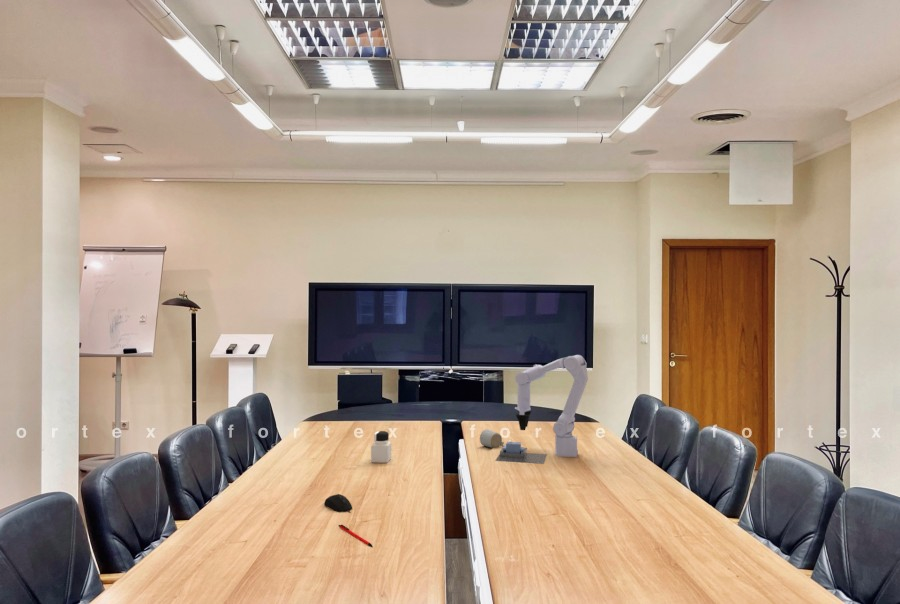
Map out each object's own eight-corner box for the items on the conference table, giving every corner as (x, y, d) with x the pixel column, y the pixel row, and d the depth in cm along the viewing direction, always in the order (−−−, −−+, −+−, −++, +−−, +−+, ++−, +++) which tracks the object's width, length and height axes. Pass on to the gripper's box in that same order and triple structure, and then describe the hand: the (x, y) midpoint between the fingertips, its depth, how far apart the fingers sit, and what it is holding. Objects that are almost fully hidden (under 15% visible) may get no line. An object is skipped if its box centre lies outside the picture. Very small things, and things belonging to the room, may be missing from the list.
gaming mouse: (343, 517, 174) (343, 504, 174) (320, 505, 185) (320, 492, 185) (361, 513, 178) (361, 500, 178) (337, 500, 189) (337, 488, 189)
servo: (524, 454, 245) (524, 440, 245) (523, 456, 241) (523, 442, 241) (503, 452, 247) (503, 439, 247) (502, 455, 243) (502, 441, 243)
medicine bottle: (391, 458, 241) (391, 430, 241) (387, 462, 234) (387, 433, 234) (374, 458, 242) (374, 429, 242) (370, 462, 235) (370, 433, 235)
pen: (340, 526, 166) (340, 522, 166) (374, 547, 151) (374, 543, 151) (337, 527, 166) (337, 523, 166) (371, 548, 151) (371, 544, 151)
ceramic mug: (491, 450, 256) (491, 432, 256) (479, 446, 262) (479, 430, 262) (508, 446, 263) (508, 430, 263) (495, 443, 269) (495, 427, 269)
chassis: (547, 456, 245) (547, 449, 245) (543, 465, 230) (543, 458, 230) (501, 453, 250) (501, 446, 250) (495, 462, 235) (495, 455, 235)
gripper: (517, 395, 263) (517, 424, 263) (512, 400, 249) (512, 431, 249) (532, 395, 262) (532, 425, 262) (528, 400, 248) (528, 431, 247)
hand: (523, 428), depth 255 cm, fingers open, 7 cm apart
